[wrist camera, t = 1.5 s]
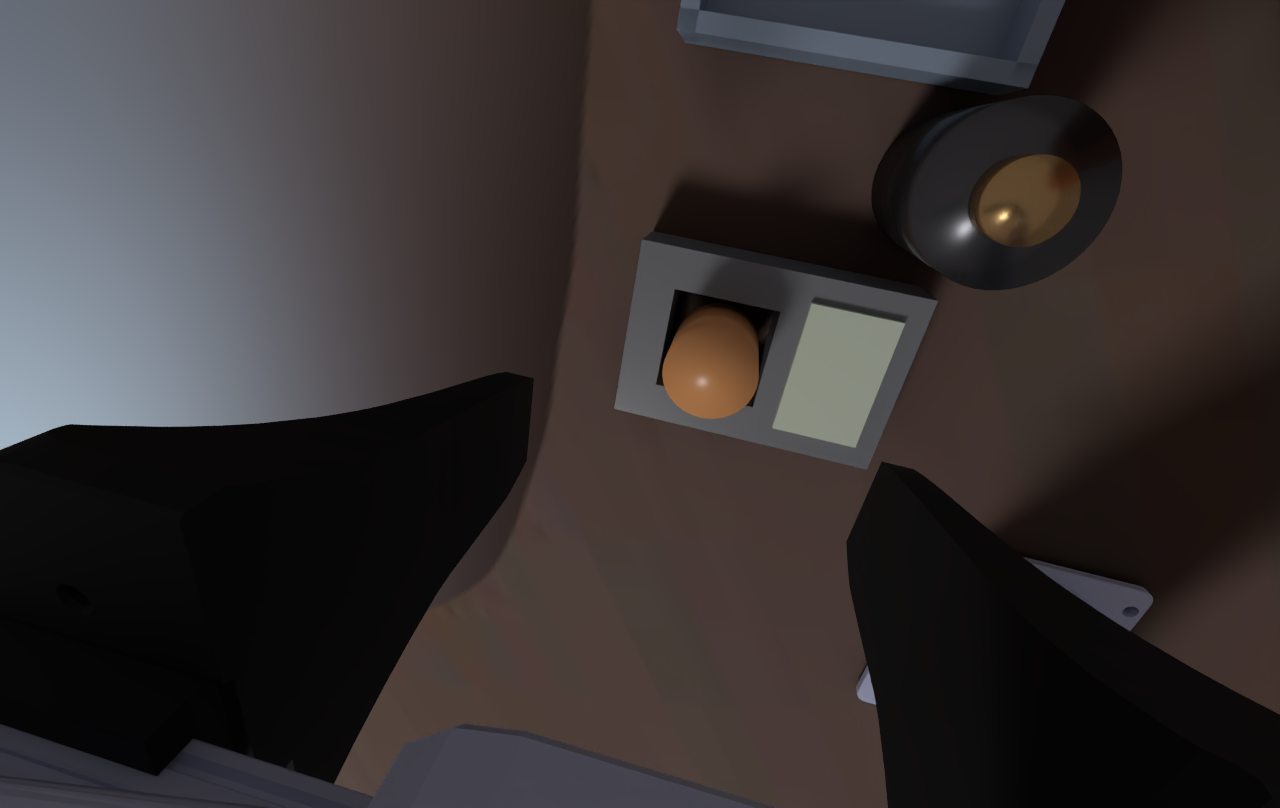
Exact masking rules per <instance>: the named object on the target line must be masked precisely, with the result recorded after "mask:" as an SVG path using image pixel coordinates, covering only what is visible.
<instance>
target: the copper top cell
mask: <svg viewBox="0 0 1280 808" xmlns="http://www.w3.org/2000/svg"><path fill="white" fill-rule="evenodd" d="M1121 180H1122V159H1121V152H1120V148H1119V145H1118V142H1117V139H1116V137H1115V135H1114V133H1113V131H1112V129H1111V128H1110V127H1109V125H1108V124H1107V123H1106V121H1105V120H1104V119H1103V118H1102V117H1101V116H1100V115H1099V114H1098V113H1097V112H1095V111H1094V110H1092V109H1091V108H1089V107H1088V106H1086V105H1085V104H1082V103H1080V102H1078V101H1075V100H1073V99H1069V98H1065V97H1061V96H1053V95H1032V96H1026V97H1020V98H1015V99H1010V100H1005V101H1000V102H995V103H990V104H985V105H980V106H975V107H970V108H965V109H960V110H956V111H951V112H946V113H941V114H938V115H934V116H931V117H929V118H926V119H924V120H922V121H920V122H918V123H917V124H915V125H913V126H912V127H910V128H909V129H908V130H906V131H905V132H904V133H903V134H901V135H900V136H899V137H898V138H897V139H896V140H895V141H894V143H893V144H892V145H891V146H890V147H889V149H888V150H887V151H886V153H885V154H884V156H883V158H882V160H881V161H880V163H879V165H878V168H877V170H876V173H875V176H874V180H873V185H872V198H871V201H872V208H873V212H874V216H875V219H876V221H877V223H878V225H879V227H880V228H881V230H882V231H883V232H884V234H885V235H886V236H887V237H888V238H889V239H890V240H892V241H893V242H894V243H895V244H897V245H899V246H900V247H902V248H903V249H905V250H906V251H908V252H909V253H911V254H912V255H914V256H915V257H917V258H918V259H920V260H921V261H923V262H924V263H926V264H927V265H929V266H930V267H932V268H933V269H935V270H936V271H938V272H939V273H941V274H942V275H944V276H945V277H947V278H948V279H950V280H952V281H954V282H956V283H958V284H961V285H963V286H967V287H971V288H975V289H982V290H1004V289H1012V288H1017V287H1021V286H1025V285H1028V284H1031V283H1034V282H1037V281H1039V280H1041V279H1044V278H1046V277H1048V276H1050V275H1052V274H1054V273H1055V272H1057V271H1059V270H1061V269H1062V268H1063V267H1065V266H1066V265H1068V264H1069V263H1071V262H1072V261H1073V260H1074V259H1076V258H1077V257H1078V256H1079V255H1080V254H1081V253H1082V252H1084V251H1085V249H1086V248H1087V247H1088V246H1089V245H1090V244H1091V243H1092V242H1093V241H1094V240H1095V238H1096V237H1097V236H1098V234H1099V233H1100V232H1101V230H1102V229H1103V227H1104V226H1105V224H1106V222H1107V221H1108V219H1109V217H1110V215H1111V213H1112V211H1113V209H1114V207H1115V204H1116V201H1117V198H1118V195H1119V192H1120V186H1121Z"/></svg>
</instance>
